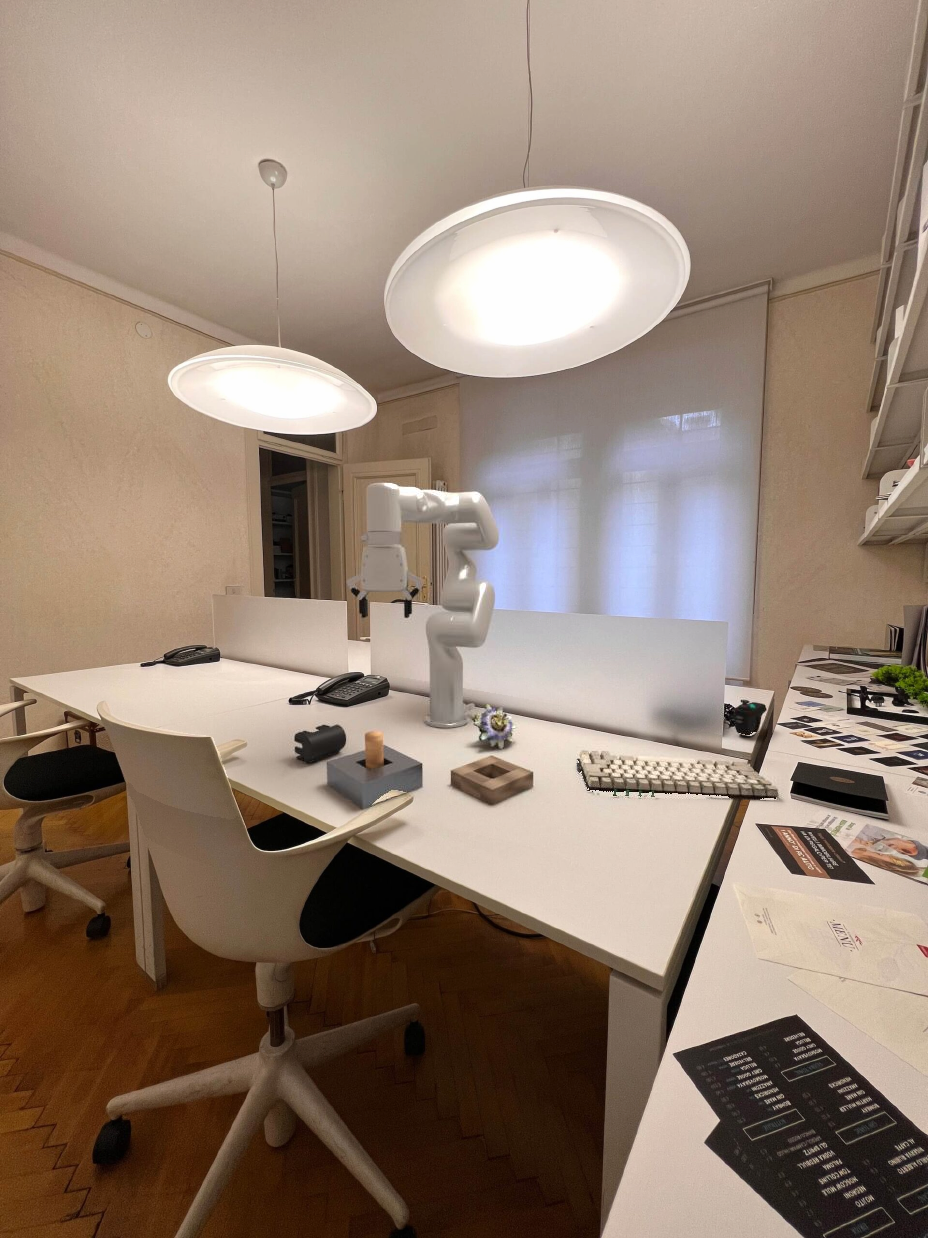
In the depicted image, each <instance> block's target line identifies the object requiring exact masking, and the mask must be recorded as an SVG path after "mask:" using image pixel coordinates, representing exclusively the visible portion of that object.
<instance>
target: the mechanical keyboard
mask: <svg viewBox="0 0 928 1238" xmlns="http://www.w3.org/2000/svg"><path fill="white" fill-rule="evenodd" d="M617 756H618V755H615V754H612V755H611V754H610V752H609V751H606V750H605V751H603V750H602V751H601V752H600V753H599V751H597V750H591V751H590V752H589V750H584V749H583V750H581V751H580V752H579V758H576V761H577V760H578V761H579V763H578V761H577V762H576V772H577V771H578V772H579V773H580V772H581V771H582V773H581V774H582V775H581V777H582V776H583V778H582V780H583V779H584V780H583V783H584V782H585V783H586V784H585V783H584V786H585V785H586V786H585V788H586V787H587V789H588V788H589V790H587V789H586V792H587V791H590V790H595V791H596V790H599V791H603V792H604V791H606V792H607V791H608V792H609V791H610V792H611V791H612V792H613V791H614V794H613V796H617V795H616V792H624V791H626V795H625V796H629V792H639V795H638V796H640V797H641V796H642V795H641V793H649V792H652V795H651V797H655V796H654V793H665V794H667V793H668V794H669V793H670V794H672V793H678V794H686V793H688V794H689V793H690V794H696V795H698V794H702V795H709V796H710V795H716V796H717V795H718V796H719V795H721V796H728V797H729V798H731V799H730V800H744V801H745V800H749V801H751V800H752V801H761V800H760V799H762V798H763V799H764V798H774V799H776V797H777V798H778V797H780V795H779V792H778V790H779V789H778V787H777V786H776V785H772V781H770V780H769V779H766V778H765V777H764V776H761V775H760V774H759V773H758V772H757V771H755V769H754V768H753V767H752V766H750V765H749V764H748V763H747V761H737V760H736V761H735V760H734V761H732V762H730V761H729V760H718V759H716V760H715V761H713V760H712V759H698V760H697V761H696V759H695V758H684V757H683V758H682V757H681V758H680V757H665V756H649V755H648V756H646V755H645V756H643V755H637V756H636V759H635V758H634V755H620V756H619V758H618V757H617ZM578 772H577V773H578ZM579 773H578V774H579ZM592 792H593V791H592Z"/></svg>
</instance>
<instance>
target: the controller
mask: <svg viewBox="0 0 928 1238" xmlns="http://www.w3.org/2000/svg"><path fill="white" fill-rule="evenodd" d="M740 703H741V704H739V705H738V706H736V707H734V708H733V719H734V729H735V731H736V733H737V734H739V733H741V734H745V735H750V734H752V733H753V732H757V733H758V731H759V729H760V725H761V722H762V716H763V714H764V713H766V712H767V706H766V704H764V703H760V702H756V701H755V702H753V701H752V702H751V701H750V700H747V699H740ZM751 732H752V733H751Z"/></svg>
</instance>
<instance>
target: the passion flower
mask: <svg viewBox="0 0 928 1238" xmlns="http://www.w3.org/2000/svg"><path fill="white" fill-rule="evenodd" d="M480 716H481V717H480ZM479 717H480V719H479ZM512 718H513V717H512V716H510V715H507V713H506V712H504V709H503V707H499V708H497V709H496V707H493V708H492V707H491V705H490V704H488V703H486V705H485V710H484V712H482V713H481V714H479V713H475V714H474V716H472V717H471V718H470V719H471V721H472V722H473V724H472V725H473V726H476V727H477V729H478V731H479V732H480V733H479V736H478V739H479V741H484V740H486V739H487V743H488V745H489V746H490V748H494V746H496V747H497V748H498V749H499V750H502V749H503V748H504V745H505V743H504V742H505V740H506V741H508V742H511V743H512V742H513V740H514V739H513V732H514V731H515V730H514V729H516V728H517V727H518V725H517V724H515V723H514V722H513V721H512Z"/></svg>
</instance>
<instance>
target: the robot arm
mask: <svg viewBox="0 0 928 1238" xmlns="http://www.w3.org/2000/svg"><path fill="white" fill-rule="evenodd" d="M365 494H366V533H365V534H364V535H361V536H360V542H364V543H366V545H367V546H363V548H362V549H363V550H362V555H361V567H360V572H359V573H358V574H356V575H354V576H352V577H350V578H348V579H347V580H346V585H347V586H348V588H349V590H350V592H351V594H352V595H354V596H355V598H357V600H358V612H359V613H358V614H360V615H361V618H363V619H364V618H367V617H368V616H369V608H368V607H369V606H368V605H369V604H368V599H367V596H368V595H369V593H397V592H398V593H399V592H400V593H401V594H402V595H403V597H404V598H405V599H404V601H403V611H404V612H403V617H404V618H405V619H408V618H409V617H410V615H412V614H413V599H414V598H415V597H416V596H417V595H418V594H419V593H420V591H421V589H422V587H423V585H424V583H425V581H424V580H423V579H422V578H420V577H418V576H416V575H414V574H413V573H410V572H409V567H408V561H407V553H406V548H405V547H404V546H403V545H402V522H403V523H415V524H442V525H443V524H444V525H445V524H446V526H445V527H444V528H443V531H442V543H443V545H444V549H445V552H446V553H445V554H446V556H447V561H448V568H447V573H446V577H445V578H444V579H445V580H444V583H443V586H442V589H441V593H440V599H439V600H440V601H439V603H440V605H441V606H440V607H442V609H444V610H445V611H440V612H439V611H438V612H435V613H432V614H430V616H429V617H428V618H427V620H426V623H425V635H426V639H427V645H428V654H429V655H428V656H429V713H428V714H427V715H425V716H424V723H425V724H426V725H428V726H431V727H434V728H445V729H446V728H447V729H449V728H457V727H461V726H464V725H466V724H468V722H469V716H468V715H467V714H466V713H468V712H469V711H473V710H475V708H476V706H475V704H474V703H473V702H472V703H468V704H466V703H465V702H464V677H463V676H464V662H463V657H462V656H461V655H462V654H461V653H460V651H459V650H458V648H471V649H473V648H474V649H476V648H480V647H482V646H483V645H484V643H485V642H486V640H487V636H488V633H489V628H490V625H491V621H492V618H493V617H492V616H493V611H494V609H495V608H494V607H495V603H496V593H495V588H494V586H493V585H492V583H491V582H489V581H487V580H484V579H481V580H480V579H476V577H477V565H476V563H475V562H474V561H473V559H472V557H470V556H469V554H468V552H467V551H490V550H493V549H495V548H496V546H497V545H498V544H499V539H500V535H499V533H500V532H499V528H498V525H497V522H496V520H495V518H494V515H493V513H492V511H491V508H490V506H489V503H488V502H487V500H486V499H485V497H484V496H483V495H482V494H481V493H480V492H479V491H464V492H449V491H441V490H435V489H420V488H418V487H414V486H399V485H397V484H395V483H391V482H375V483H374V482H373V483H369V485H368V486H367V487H366V493H365ZM359 581H360V588H361V590H360V589H358V587H357V586H356V583H357V582H359ZM409 581H411V582H414V583H415V587H414V588H413V589H412V590H411V591H410V590H409V589H408V588H409Z"/></svg>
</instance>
